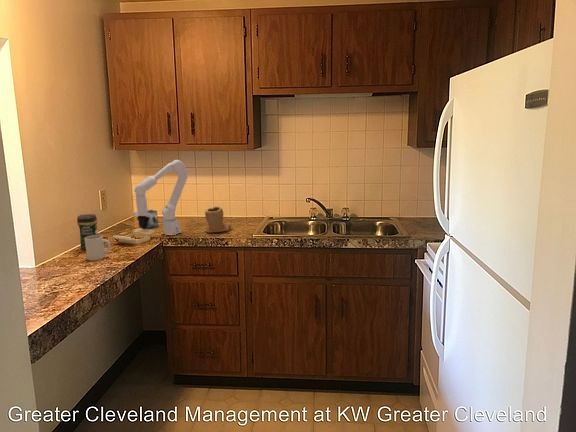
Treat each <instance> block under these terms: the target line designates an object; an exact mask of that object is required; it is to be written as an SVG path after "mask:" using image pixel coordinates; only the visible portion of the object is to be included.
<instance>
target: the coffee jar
mask: <svg viewBox="0 0 576 432" xmlns="http://www.w3.org/2000/svg"><path fill="white" fill-rule="evenodd" d="M76 221H77V222H76V223H77V225H78V228H79V234H80V235H79V236H80V237H79V239H80V241H79V242H80V249H81V250H86V246H85V237H88V236H92V235H99V232H98V227H97V225H98V218H97V215H96V214H95V213H94V214H92V213H91V214H79V215H78V216H77V220H76Z"/></svg>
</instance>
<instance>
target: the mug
mask: <svg viewBox="0 0 576 432" xmlns="http://www.w3.org/2000/svg"><path fill="white" fill-rule="evenodd" d="M105 243H106V244H107V246H108V248H107V249H105ZM85 246H86V249H85V251H86V252H85V253H86V259H87V261H90V262H91V261H99V260H100V261H101V260H103V259H105V258H106V254H107V253H109V252H111V249H112V248H111V247H112V246H111V243H110V240H109V239H106V238H104V237H103V235H101V234H98V235H92V236H88V237H85Z"/></svg>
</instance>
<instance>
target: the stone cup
mask: <svg viewBox="0 0 576 432" xmlns="http://www.w3.org/2000/svg"><path fill="white" fill-rule="evenodd" d="M204 216H205V219H206V222H207V225H208V227H206V228H205V232H206V233H210V234H211V233H219V232H220V233H221V232H230V231H231V228H232V224H225V223H224V211H223V208H222V207H221V206H213V207H209V208H207V209H205V211H204Z"/></svg>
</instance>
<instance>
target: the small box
mask: <svg viewBox="0 0 576 432" xmlns="http://www.w3.org/2000/svg"><path fill="white" fill-rule="evenodd" d="M148 213H151V214H153V217H152V218H149V220H148V223H147V228H146V229H149V228H152V229H155V228H158V227H159V217H158V211H157V210H154V209H148ZM138 217H139V216H137V218H138ZM154 227H155V228H154ZM138 228H142V226H141V224H140V222H139V221H138Z"/></svg>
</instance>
